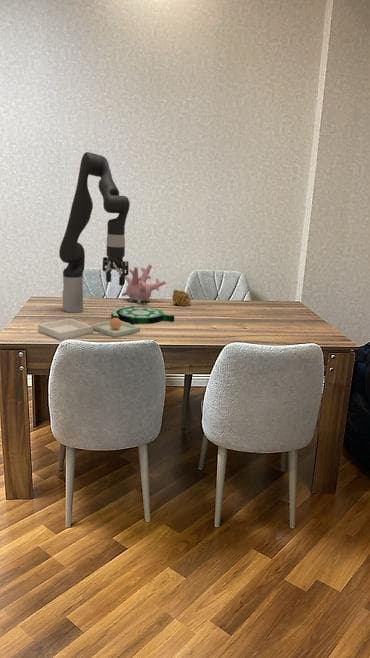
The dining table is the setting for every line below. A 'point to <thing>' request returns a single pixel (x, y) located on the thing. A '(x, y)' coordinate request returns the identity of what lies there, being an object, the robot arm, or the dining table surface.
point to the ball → (115, 323)
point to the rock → (181, 298)
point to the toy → (140, 285)
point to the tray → (122, 331)
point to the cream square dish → (65, 329)
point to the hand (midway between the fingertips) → (115, 283)
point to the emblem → (140, 315)
